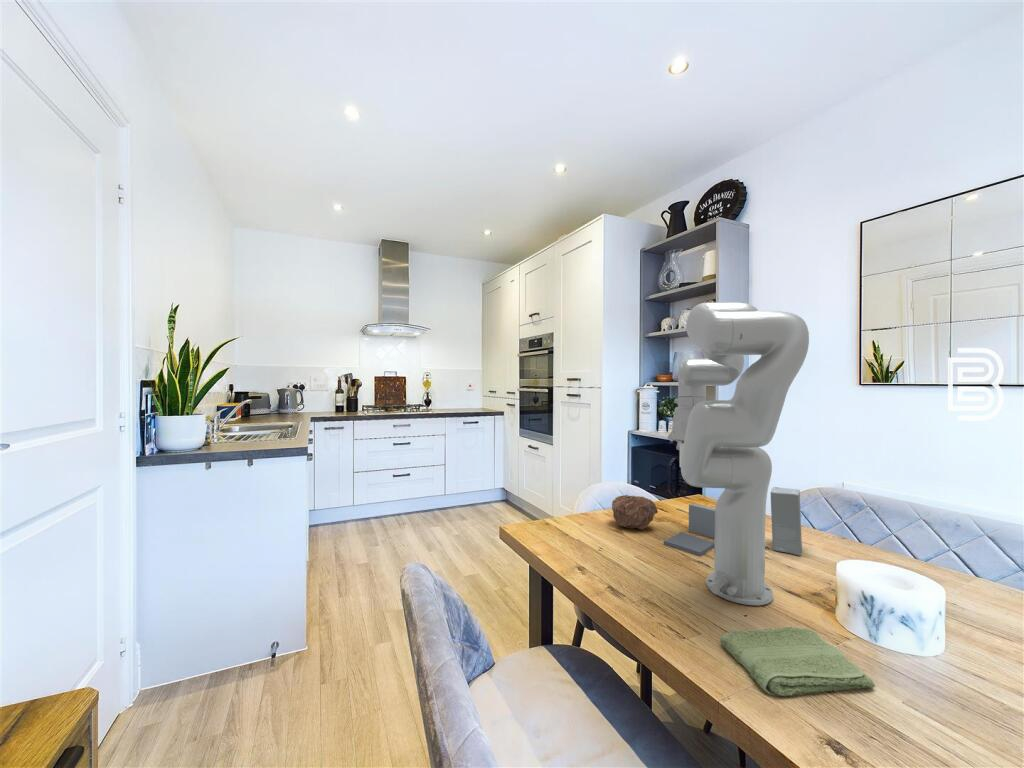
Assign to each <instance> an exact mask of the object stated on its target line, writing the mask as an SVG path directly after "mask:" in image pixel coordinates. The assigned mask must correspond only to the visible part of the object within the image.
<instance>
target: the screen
mask: <svg viewBox="0 0 1024 768" xmlns="http://www.w3.org/2000/svg"><path fill="white" fill-rule="evenodd" d="M688 532H690V533H694V534H697V535H701V536H703V537H708V538H711V539H714V540H715V507H714V508H713V507H709V506H705V505H701V504H696V503H690V504H688Z"/></svg>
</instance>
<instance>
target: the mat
mask: <svg viewBox="0 0 1024 768" xmlns="http://www.w3.org/2000/svg"><path fill="white" fill-rule="evenodd" d="M714 542H715V541H713V540H709V539H706V538H703V537H699V536H696V535H692V534H690V533H685V532H682V531H680V532H678V533H676V534H674V535H672V536H670V537H668V538H666V539H664V540H663V545H664V546H667V545H668V547H671V548H673V547H674V548H673V549H676V548H677V550H679V549H680V550H679V551H682V550H683V552H685V551H686V552H685V553H689V554H692V555H695V556H699V557H701V556H703V555H704V554H706V553H708V552H710V551H711V550H713V549H714Z"/></svg>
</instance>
